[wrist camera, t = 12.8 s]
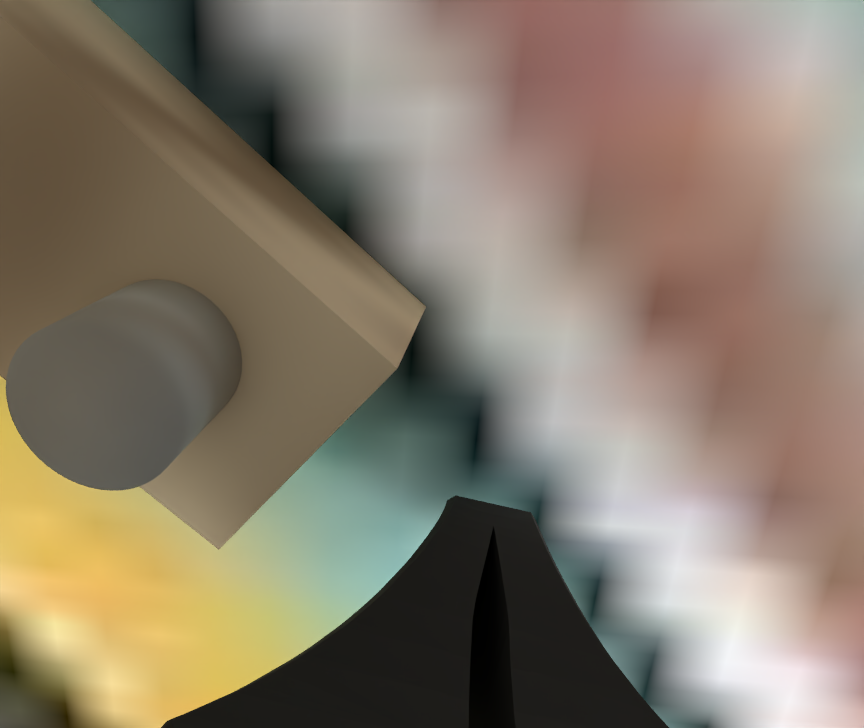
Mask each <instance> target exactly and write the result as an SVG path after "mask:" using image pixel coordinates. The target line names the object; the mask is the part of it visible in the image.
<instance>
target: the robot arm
mask: <svg viewBox="0 0 864 728" xmlns="http://www.w3.org/2000/svg"><path fill="white" fill-rule="evenodd" d="M161 728H669V727H668V726H667V725H666V724H665V723H664V722H663V721H662V720H661V719H660V717H659V716H658V715H657V714H656V713H655V712H654V711H653V710H652V708H651V707H650V706H649V705H648V704H647V703H646V701H645V700H644V699H643V698H642V697H641V696H640V694H639V693H638V692H637V691H636V689H635V688H634V687H633V685H632V684H631V683H630V682H629V680H628V679H627V678H626V676H625V675H624V674H623V673H622V671H621V670H620V669H619V667H618V666H617V665H616V664H615V662H614V661H613V660H612V658H611V657H610V655H609V654H608V653H607V651H606V650H605V648H604V647H603V645H602V644H601V642H600V641H599V639H598V637H597V636H596V634H595V633H594V631H593V630H592V628H591V627H590V625H589V623H588V622H587V620H586V619H585V617H584V615H583V613H582V612H581V610H580V608H579V607H578V605H577V603H576V601H575V600H574V598H573V596H572V594H571V592H570V591H569V589H568V587H567V585H566V583H565V581H564V580H563V578H562V576H561V574H560V572H559V570H558V568H557V566H556V564H555V562H554V560H553V558H552V556H551V554H550V552H549V550H548V547H547V545H546V543H545V541H544V539H543V536H542V534H541V532H540V529H539V527H538V525H537V522H536V520H535V518H534V517H533V515H532V514H531V512H526V511H522V510H518V509H513V508H509V507H504V506H500V505H495V504H491V503H486V502H482V501H477V500H473V499H468V498H464V497H459V496H454V497H452V498H450V499H449V500H447V503H446V506H445V508H444V510H443V512H442V514H441V516H440V518H439V520H438V521H437V523H436V524H435V526H434V527H433V529H432V530H431V532H430V533H429V535H428V536H427V538H426V539H425V540H424V541H423V543H422V544H421V545H420V546H419V548H418V549H417V550H416V551H415V553H414V554H413V555H412V556H411V558H410V559H409V560H408V561H407V562H406V564H405V565H404V566H403V567H402V568H401V569H400V570H399V571H398V572H397V573H396V574H395V575H394V576H393V577H392V578H391V580H390V581H389V582H388V583H387V584H386V585H385V586H384V587H383V588H382V589H381V590H380V591H379V592H378V593H377V594H376V595H375V596H374V597H373V598H372V599H370V600H369V601H368V602H367V603H366V604H365V605H364V606H363V607H362V608H360V609H359V610H358V611H357V612H356V613H355V614H353V615H352V616H351V617H350V618H349V619H347V620H346V621H345V622H344V623H342V624H341V625H340V626H339V627H337V628H336V629H334V630H333V631H332V632H330V633H329V634H328V635H326V636H325V637H324V638H322V639H321V640H320V641H318V642H317V643H315V644H314V645H313V646H311V647H310V648H308V649H307V650H305V651H304V652H302V653H301V654H299V655H298V656H296V657H295V658H293V659H291V660H290V661H288V662H286V663H284V664H283V665H281V666H279V667H278V668H276V669H274V670H272V671H271V672H269V673H267V674H265V675H264V676H262V677H260V678H258V679H257V680H255V681H253V682H252V683H250V684H248V685H246V686H244V687H242V688H240V689H239V690H237V691H235V692H233V693H231V694H228V695H226V696H224V697H222V698H219V699H217V700H215V701H213V702H211V703H208V704H206V705H204V706H202V707H199V708H197V709H195V710H193V711H190V712H188V713H186V714H183V715H181V716H178V717H176V718H173V719H171V720H169V721H167V722H166V723H165V724H164V725H163V726H162V727H161Z"/></svg>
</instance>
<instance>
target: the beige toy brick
mask: <svg viewBox="0 0 864 728" xmlns="http://www.w3.org/2000/svg"><path fill="white" fill-rule="evenodd" d="M425 308H426V306H425V305H423V304H422V303H421V302H420V301H419V300H418V299H417V298H416V297H415V296H414V295H413V294H411V293H410V292H409V291H408V290H407V289H406V288H405V287H404V286H403V285H402V284H400V283H399V282H398V281H397V280H396V279H395V278H394V277H393V276H392V275H391V274H390V273H388V272H387V271H386V270H385V269H384V268H383V267H382V266H381V265H380V264H379V263H378V262H376V261H375V260H374V259H373V258H372V257H371V256H370V255H369V254H368V253H367V252H365V251H364V250H363V249H362V248H361V247H360V246H359V245H358V244H357V243H356V242H355V241H353V240H352V239H351V238H350V237H349V236H348V235H347V234H346V233H345V232H344V231H342V230H341V229H340V228H339V227H338V226H337V225H336V224H335V223H334V222H333V221H332V220H330V219H329V218H328V217H327V216H326V215H325V214H324V213H323V212H322V211H321V210H320V209H318V208H317V207H316V206H315V205H314V204H313V203H312V202H311V201H310V200H309V199H307V198H306V197H305V196H304V195H303V194H302V193H301V192H300V191H299V190H298V189H297V188H295V187H294V186H293V185H292V184H291V183H290V182H289V181H288V180H287V179H286V178H284V177H283V176H282V175H281V174H280V173H279V172H278V171H277V170H276V169H275V168H274V167H272V166H271V165H270V164H269V163H268V162H267V161H266V160H265V159H264V158H263V157H262V156H260V155H259V154H258V153H257V152H256V151H255V150H254V149H253V148H252V147H251V146H249V145H248V144H247V143H246V142H245V141H244V140H243V139H242V138H241V137H240V136H239V135H237V134H236V133H235V132H234V131H233V130H232V129H231V128H230V127H229V126H228V125H226V124H225V123H224V122H223V121H222V120H221V119H220V118H219V117H218V116H217V115H216V114H214V113H213V112H212V111H211V110H210V109H209V108H208V107H207V106H206V105H205V104H203V103H202V102H201V101H200V100H199V99H198V98H197V97H196V96H195V95H194V94H193V93H191V92H190V91H189V90H188V89H187V88H186V87H185V86H184V85H183V84H182V83H181V82H179V81H178V80H177V79H176V78H175V77H174V76H173V75H172V74H171V73H170V72H168V71H167V70H166V69H165V68H164V67H163V66H162V65H161V64H160V63H159V62H158V61H156V60H155V59H154V58H153V57H152V56H151V55H150V54H149V53H148V52H147V51H145V50H144V49H143V48H142V47H141V46H140V45H139V44H138V43H137V42H136V41H135V40H133V39H132V38H131V37H130V36H129V35H128V34H127V33H126V32H125V31H124V30H123V29H121V28H120V27H119V26H118V25H117V24H116V23H115V22H114V21H113V20H112V19H110V18H109V17H108V16H107V15H106V14H105V13H104V12H103V11H102V10H101V9H100V8H98V7H97V6H96V5H95V4H94V3H93V2H92V1H91V0H0V376H1V377H3V378H4V379H5V380H6V396H7V402H8V407H9V411H10V414H11V417H12V420H13V422H14V424H15V426H16V428H17V430H18V432H19V434H20V435H21V437H22V439H23V440H24V442H25V443H26V444H27V446H28V447H29V448H30V449H31V451H32V452H33V453H34V454H35V455H36V456H37V457H38V458H39V459H40V460H41V461H42V462H44V463H45V464H46V465H47V466H48V467H50V468H51V469H52V470H54V471H55V472H57V473H58V474H60V475H62V476H63V477H65V478H67V479H69V480H71V481H73V482H76V483H78V484H81V485H84V486H87V487H91V488H95V489H100V490H126V489H131V488H135V487H138V486H140V487H141V488H142V489H143V490H145V491H146V492H147V493H148V494H150V495H151V496H152V497H153V498H155V499H156V500H157V501H158V502H160V503H161V504H162V505H163V506H165V507H166V508H167V509H168V510H170V511H171V512H172V513H173V514H175V515H176V516H177V517H178V518H180V519H181V520H182V521H184V522H185V523H186V524H187V525H189V526H190V527H191V528H192V529H194V530H195V531H196V532H197V533H199V534H200V535H201V536H202V537H204V538H205V539H206V540H207V541H209V542H210V543H211V544H212V545H214V546H215V547H216V548H217V549H220V548H221V547H222V546H223V545H224V544H225V543H226V542H227V541H228V540H229V539H230V538H231V537H232V536H233V535H234V534H235V533H236V532H237V531H238V530H239V529H240V528H241V526H242V525H243V524H244V523H245V522H246V521H247V520H248V519H249V518H250V517H251V516H252V515H253V514H254V513H255V512H256V511H257V510H258V509H259V508H260V507H261V506H262V505H263V504H264V503H265V502H266V501H267V500H268V499H269V498H270V497H271V496H272V495H273V494H274V493H275V492H276V491H277V490H278V489H279V488H280V487H281V486H282V485H283V484H284V483H285V482H286V481H287V480H288V479H289V478H290V477H291V476H292V475H293V474H294V473H295V472H296V471H297V470H298V469H299V468H300V467H301V466H302V465H303V464H304V463H305V462H306V461H307V460H308V459H309V458H310V457H311V456H312V455H313V454H314V453H315V452H316V450H317V449H318V448H319V447H320V446H321V445H322V444H323V443H324V442H325V441H326V440H327V439H328V438H329V437H330V436H331V435H332V434H333V433H334V432H335V431H336V430H337V429H338V428H339V427H340V426H341V425H342V424H343V423H344V422H345V421H346V420H347V419H348V418H349V417H350V416H351V415H352V414H353V413H354V412H355V411H356V410H357V409H358V408H359V407H360V406H361V405H362V404H363V403H364V402H365V401H366V400H367V399H368V398H369V397H370V396H371V395H372V394H373V393H374V392H375V391H376V390H377V389H378V388H379V387H380V386H381V385H382V384H383V383H384V382H385V381H386V380H387V379H388V378H389V377H390V376H391V374H392V373H393V372H394V371H395V370H396V369H397V368H398V366H399V364H400V362H401V360H402V358H403V355H404V353H405V351H406V349H407V347H408V345H409V342H410V340H411V338H412V336H413V334H414V332H415V330H416V327H417V325H418V323H419V321H420V319H421V317H422V314H423V312H424V310H425Z"/></svg>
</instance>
